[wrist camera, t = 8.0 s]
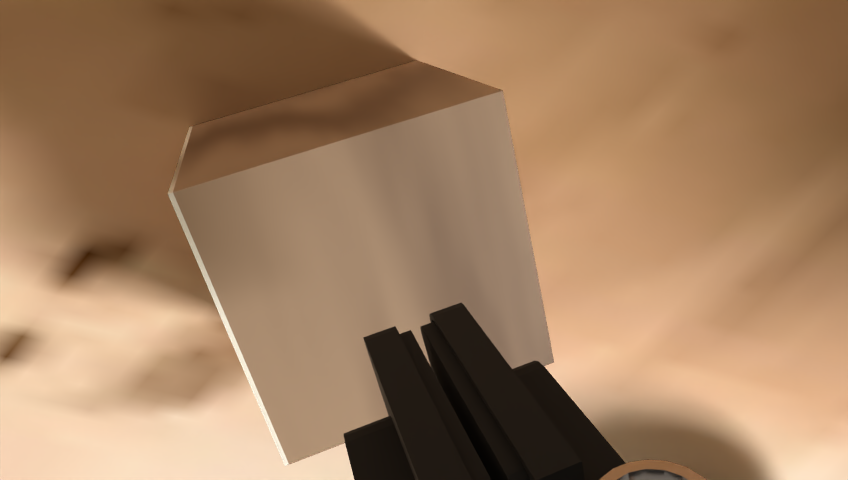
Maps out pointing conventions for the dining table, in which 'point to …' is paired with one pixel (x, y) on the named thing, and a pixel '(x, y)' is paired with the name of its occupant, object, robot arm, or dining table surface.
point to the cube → (357, 237)
